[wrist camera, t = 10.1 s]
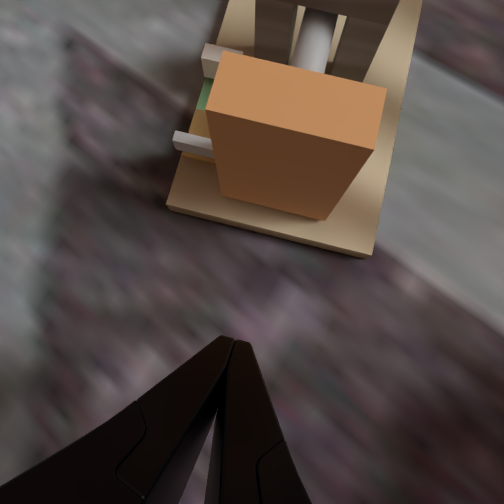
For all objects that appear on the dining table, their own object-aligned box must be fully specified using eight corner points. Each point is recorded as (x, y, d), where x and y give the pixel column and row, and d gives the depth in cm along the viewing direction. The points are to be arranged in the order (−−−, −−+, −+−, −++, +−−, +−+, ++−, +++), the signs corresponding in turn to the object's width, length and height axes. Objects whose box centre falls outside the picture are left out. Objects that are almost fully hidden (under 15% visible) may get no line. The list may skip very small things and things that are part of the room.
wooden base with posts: (365, 259, 20) (460, 199, 11) (169, 210, 20) (109, 115, 11) (421, -17, 23) (529, -234, 14) (251, -55, 23) (253, -289, 15)
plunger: (325, 221, 19) (374, 149, 12) (168, 182, 19) (119, 88, 12) (362, 56, 21) (426, -98, 13) (218, 23, 21) (202, -146, 14)
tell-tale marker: (239, 84, 20) (238, 66, 19) (203, 76, 20) (200, 57, 19) (243, 70, 20) (243, 51, 19) (208, 62, 20) (205, 42, 19)
